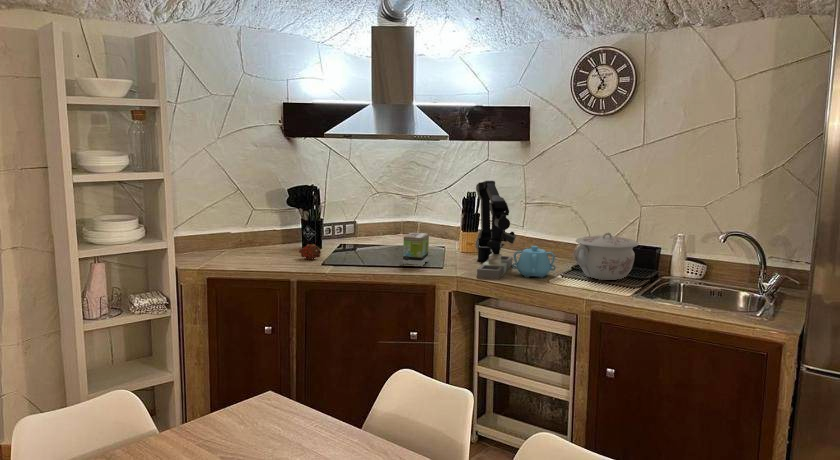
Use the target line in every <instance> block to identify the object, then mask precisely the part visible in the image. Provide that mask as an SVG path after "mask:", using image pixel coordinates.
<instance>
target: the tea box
mask: <svg viewBox="0 0 840 460" xmlns="http://www.w3.org/2000/svg"><path fill="white" fill-rule="evenodd" d="M429 238H430V234H429V233H425V232H409V233H408V234H405V235H404V236H403V247H402V248H403V249H402V250H403V251H402V253H403V254H402V258H403V259H402V264H403V263H408V264H419V265H423V263H424V262H425V261H426V260H427V259H428V260H429V249H430V248H429V246H430V239H429Z"/></svg>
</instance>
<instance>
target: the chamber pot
mask: <svg viewBox="0 0 840 460" xmlns="http://www.w3.org/2000/svg"><path fill="white" fill-rule="evenodd" d="M575 243H577V244H578V245H577V246H575V248H574V251H573V258H574V260H575V262H576V263H577V265H579V266H580V268H581V270H582V272H583V273H584V275H585V276H586V277H588V278H590V277H591V279H592V278H595V279H602V280H616V279H621V280H623V279H625V278H627V276H629V273H630V272H631V271H632V269H633V266H634V262H635V252H634V250H633V248H635V247H637V246H639V242H638V241H636V240H633V239H630V238H627V237H623V236H622V237H621V236H614V235H612V234H611V233H610V232H605V233H604V234H603V235H589V236H588V235H587V236H582V237H579V238H577V239H576V240H575ZM624 277H625V278H624ZM622 278H623V279H622ZM595 279H594V280H595Z"/></svg>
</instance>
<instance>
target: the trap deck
mask: <svg viewBox="0 0 840 460" xmlns="http://www.w3.org/2000/svg"><path fill="white" fill-rule="evenodd" d="M512 265H513V256H507V255H506V256H503V255H501V264H500V265H494V264H489V259H488V260H487V261H486V262H483V263H482V264H481V265H480V266H479V267H478V268H477V269H476V278H477V279H485V280H497V281H498V280H500V279H501V278H502V277H503V276H504V275H505V274H506V273H507V272H508V270H509V269H510V268H511V267H512Z"/></svg>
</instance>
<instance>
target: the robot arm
mask: <svg viewBox="0 0 840 460" xmlns="http://www.w3.org/2000/svg"><path fill="white" fill-rule="evenodd" d="M475 191H476V192H477V193H476V195H477V196H478V198H479V200H480V227H481V228H480V230H479V232H478V234H477V239H476V241H475V249H476V250H477V260H476V262H483V263H485V262H486V261H487V260H488V259H489V255H490V254H501V249H502V248H503V247H504V246H505V245H506V243H507V242H508V243H509V244H510V245H511V244H514V243H515V240H516V238H517V237H516V236H517V235H515V231H510V232H506V230H508V229H509V228H510V227H511V222H510V221H511V220H510V219H509V218H507V216H509V214H510V210H509V205H508V204H507V202H506V200H505V199H504V197H502V196H500V194H499V191H498V189H497V186H496V181H495V180H484V181H482V182H477V184H476V187H475ZM503 242H504V243H505V244H504V243H503Z"/></svg>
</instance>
